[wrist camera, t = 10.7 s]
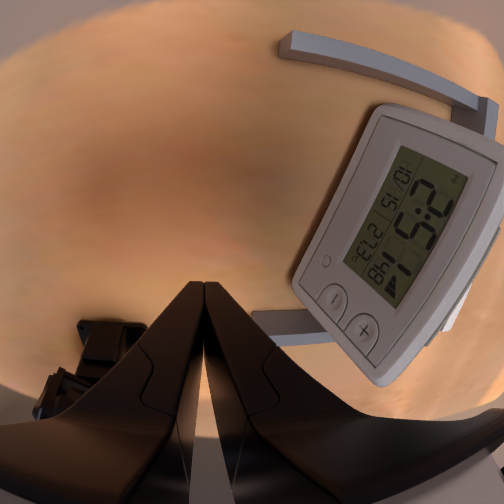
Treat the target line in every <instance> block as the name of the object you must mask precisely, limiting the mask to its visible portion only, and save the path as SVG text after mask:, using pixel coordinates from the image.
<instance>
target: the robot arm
mask: <svg viewBox="0 0 504 504" xmlns="http://www.w3.org/2000/svg"><path fill="white" fill-rule="evenodd" d="M82 326H83V327H82ZM77 329H78V332H79V335H80V338H81V341H82V344H83V346H84V348H83V351H82V353H81V358H80V361H79V364H78V367H77V370H76V373H75V375H74V374H71V373H69V372H67V371H66V369H63V368H61V367H59V369H58V371H57V373H56V374H55V373H54V374H53V375H49V377H48V380H47V382H46V385H45V387H44V390H43V392H42V394H41V396H40V397H39V399H38V401H37V403H36V404H35V406H34V408H33V412H32V415H33V417H34V419H35V421H30V422H22V423H15V424H5V425H0V504H189V496H190V481H191V471H192V459H193V458H192V457H193V448H194V437H195V427H196V417H197V407H198V398H199V389H200V380H201V372H202V363H203V346H204V359H205V366H206V372H207V377H208V383H209V388H210V394H211V399H212V404H213V409H214V414H215V419H216V424H217V429H218V434H219V438H220V443H221V447H222V452H223V456H224V461H225V465H226V469H227V473H228V477H229V482H230V486H231V489H232V494H233V497H234V501H235V504H504V467H503V468H501V469H500V468H499V466H498V464H497V463H496V461H495V459H494V457H493V456H492V454H491V453H492V452H493V451H495V450H496V449H497V448H498V447H499V446H500V445H501V444H502V443H503V442H504V409H500V408H492V409H489V410H486V411H485V412H483V413H481V414H479V415H477V416H475V417H472V418H468V419H464V420H456V421H425V420H407V419H394V418H383V417H375V416H370V415H367V414H364V413H362V412H359V411H358V410H356V409H354V408H352V407H351V406H349V405H348V404H347V403H345V402H344V401H343V400H341V399H340V398H339V397H337V396H336V395H335V394H333V393H332V392H331V391H329V390H328V389H327V388H325V387H324V386H323V385H321V384H320V383H319V382H318V381H316V380H315V379H314V378H312V377H311V376H310V375H309V374H308V373H306V372H305V371H304V370H303V369H302V368H300V367H299V366H298V365H297V364H296V363H295V362H294V361H293V360H292V359H291V358H290V357H289V356H288V355H287V354H286V353H285V352H284V351H283V350H282V349H281V348H280V347H279V346H277V344H276V343H275V342H274V341H273V340H272V339H271V338H270V337H269V336H268V335H267V334H266V333H265V332H264V331H263V330H262V329H261V328H260V326H259V325H258V324H257V323H256V322H255V321H254V320H253V319H252V318H251V317H250V316H249V315H248V314H247V313H246V312H245V310H244V309H243V308H242V307H241V306H240V305H239V304H238V303H237V302H236V301H235V300H234V299H233V297H232V296H231V295H230V294H229V293H228V292H227V291H226V290H225V289H224V288H223V287H222V285H221V284H220V283H219V282H205V283H203V282H202V281H189V282H188V283H187V284H186V286H185V287H184V288H183V289H182V290H181V291H180V292H179V294H178V295H177V296H176V297H175V298H174V299H173V300H172V302H171V303H170V304H169V305H168V306H167V307H166V308H165V310H164V311H163V312H162V313H161V314H160V315H159V316H158V318H157V319H156V320H155V321H154V322H153V323H152V325H151V326H150V327H149V328H148V329H147V327H146V326H145V325H143V324H129V323H110V322H95V321H79V322H78V324H77ZM139 329H141V330H143V331H141V330H139Z"/></svg>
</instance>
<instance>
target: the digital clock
mask: <svg viewBox="0 0 504 504" xmlns="http://www.w3.org/2000/svg"><path fill="white" fill-rule="evenodd" d="M503 217H504V145H502V144H500V143H498V142H496V141H494V140H492V139H490V138H488V137H485V136H483V135H481V134H479V133H476V132H474V131H472V130H469V129H467V128H465V127H462V126H460V125H457V124H455V123H452V122H449V121H447V120H444V119H441V118H439V117H436V116H433V115H430V114H427V113H424V112H421V111H418V110H415V109H412V108H409V107H406V106H402V105H399V104H394V103H385V104H382V105H380V106H378V107H377V108H376V109H375V110H374V112H373V114H372V116H371V117H370V120H369V122H368V124H367V126H366V128H365V130H364V132H363V135H362V137H361V139H360V141H359V143H358V146H357V148H356V150H355V152H354V154H353V156H352V159H351V161H350V163H349V165H348V167H347V169H346V171H345V174H344V176H343V178H342V180H341V182H340V184H339V186H338V188H337V190H336V192H335V194H334V197H333V199H332V201H331V203H330V205H329V207H328V209H327V211H326V213H325V215H324V217H323V219H322V221H321V223H320V225H319V227H318V229H317V231H316V233H315V235H314V237H313V239H312V241H311V243H310V245H309V247H308V249H307V251H306V253H305V254H304V256H303V258H302V260H301V262H300V264H299V266H298V268H297V270H296V272H295V275H294V277H293V280H292V288H293V291H294V293H295V294H296V296H297V297H298V299H299V300H300V301H301V302H302V303H303V305H304V306H305V307H306V308H307V309H308V310H309V312H310V313H311V314H312V315H313V316H314V317H315V318H316V320H317V321H318V322H319V323H320V324H321V325H322V326H323V328H324V329H325V330H326V331H327V332H328V333H329V334H330V336H331V337H332V338H333V339H334V340H335V341H336V343H337V344H338V345H339V346H340V347H341V348H342V349H343V351H344V352H345V353H346V354H347V355H348V356H349V357H350V359H351V360H352V361H353V362H354V363H355V364H356V366H357V367H358V368H359V369H360V370H361V371H362V372H363V374H364V375H365V376H366V377H367V378H368V379H369V380H370V381H371V382H372V383H373V384H374V385H376V386H377V387H381V388H382V387H386V386H388V385H389V384H391V383H392V382H393V381H395V380H396V379H397V378H398V377H399V376H400V374H401V373H402V372H403V371H404V370H405V369H406V367H407V366H408V365H409V364H410V363H411V362H412V360H413V359H414V358H415V357H416V356H417V354H418V353H419V352H420V351H421V349H422V348H423V347H424V346H428V345H429V344H430V343H431V341H432V340H433V339H434V337H435V336H436V335H437V333H438V332H439V331H440V329H441V328H442V327H443V325H444V324H445V322H446V321H447V320H448V318H449V317H450V315H451V314H452V312H453V311H454V310H455V308H456V307H457V305H458V304H459V302H460V301H461V299H462V298H463V296H464V294H465V293H466V291H467V290H468V288H469V287H470V285H471V283H472V282H473V280H474V278H475V277H476V275H477V273H478V272H479V270H480V268H481V266H482V265H483V263H484V261H485V259H486V257H487V256H488V254H489V252H490V250H491V248H492V246H493V244H494V242H495V240H496V239H497V237H498V234H499V232H500V230H501V228H500V227H499V226H500V224H501V221H502V219H503Z"/></svg>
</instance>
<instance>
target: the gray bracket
mask: <svg viewBox="0 0 504 504" xmlns="http://www.w3.org/2000/svg"><path fill="white" fill-rule="evenodd" d="M278 57H280V58H286V59H293V60H299V61H305V62H310V63H315V64H320V65H325V66H330V67H334V68H339V69H343V70H347V71H351V72H355V73H359V74H363V75H366V76H370V77H373V78H377V79H380V80H383V81H386V82H390V83H393V84H396V85H399V86H402V87H405V88H407V89H410V90H413V91H416V92H418V93H421V94H424V95H426V96H429V97H431V98H434V99H436V100H439V101H441V102H443V103H446V104H448V105H450V106H453V107H452V116H451V122H452V123H455V124H457V125H460V126H462V127H465V128H467V129H469V130H472V131H474V132H476V133H479V134H481V135H483V136H485V137H488V138H490V139H492V140H494V141H495V135H496V127H497V119H498V109H499V104H497V103H496V102H494V101H492V100H491V99H489V98H486V97H480V96H477V95H476V94H474V93H472V92H470V91H468V90H466V89H465V88H463V87H461V86H459V85H457V84H455V83H453V82H451V81H449V80H447V79H445V78H443V77H441V76H438V75H436V74H434V73H432V72H430V71H427V70H425V69H423V68H420V67H418V66H415V65H413V64H411V63H408V62H405V61H403V60H400V59H398V58H395V57H392V56H389V55H387V54H384V53H381V52H378V51H375V50H372V49H368V48H365V47H362V46H359V45H355V44H352V43H348V42H344V41H340V40H337V39H333V38H328V37H324V36H320V35H315V34H310V33H305V32H300V31H295V30H292V31H291V32H290V33H288V34H287V35H286V36H285V37H284V38H282V39H281V40H280V44H279V55H278ZM471 285H472V283H471ZM471 285H470V287H471ZM470 287H469V288H468V290H467V291H466V293H465V294H464V296H463V298H462V299H461V301H460V302H459V304H458V305H457V307H456V308H455V310H454V311H453V312H452V314H451V315H450V317H449V318H448V320H447V321H446V322H445V324H444V325H443V327H442V328H441V329H440V331H441V332H444V331H449V330H450V329H451V327H452V325H453V323H454V321H455V319H456V317H457V315H458V313H459V311H460V309H461V307H462V305H463V303H464V300H465V298H466V296H467V294H468V292H469V289H470ZM252 319H253V320H254V321H255V322H256V323H257V324H258V325H259V326H260V328H261V329H262V330H263V331H264V332H265V333H266V334H267V335H268V336H269V337H270V338H271V339H272V340H273V341H274V342H275V343H276V344H277V346H293V345H306V344H318V343H328V342H336V341H335V340H334V339H333V338H332V337H331V336H330V334H329V333H328V332H327V331H326V330H325V329H324V328H323V326H322V325H321V324H320V323H319V322H318V321H317V320H316V318H315V317H314V316H313V315H312V314H311V313H310V312H309V310H284V311H253V313H252Z"/></svg>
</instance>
